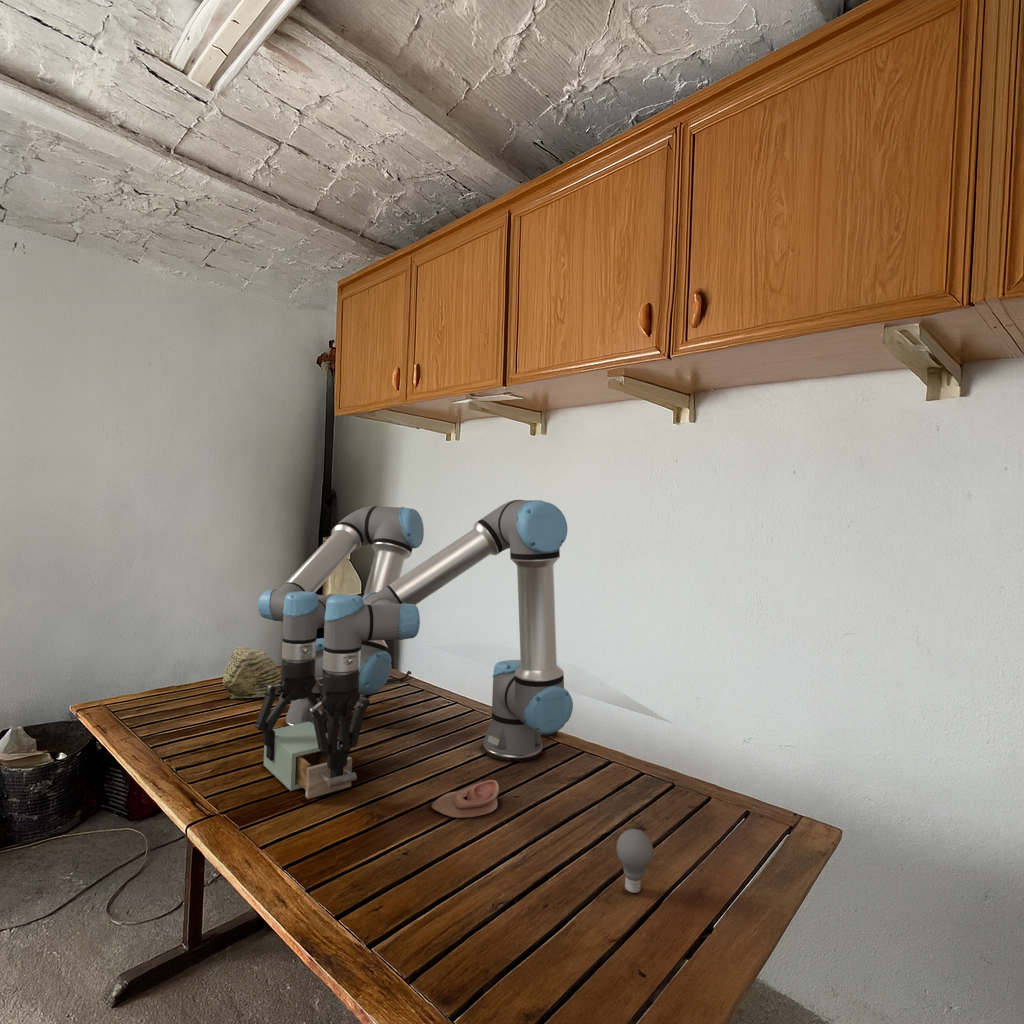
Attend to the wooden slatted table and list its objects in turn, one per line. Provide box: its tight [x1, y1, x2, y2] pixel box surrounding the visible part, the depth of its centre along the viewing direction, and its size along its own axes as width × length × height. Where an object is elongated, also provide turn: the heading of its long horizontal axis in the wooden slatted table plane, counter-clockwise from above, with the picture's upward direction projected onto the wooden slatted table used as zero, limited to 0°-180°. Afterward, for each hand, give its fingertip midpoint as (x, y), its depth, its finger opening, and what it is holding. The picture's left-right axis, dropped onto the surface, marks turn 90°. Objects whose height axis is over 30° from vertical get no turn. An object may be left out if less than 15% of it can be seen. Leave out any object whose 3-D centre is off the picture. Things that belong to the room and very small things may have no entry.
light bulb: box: [615, 828, 654, 894], centre depth 106 cm, size 6×6×10 cm
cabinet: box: [263, 722, 339, 792], centre depth 145 cm, size 16×11×8 cm
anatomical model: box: [431, 779, 500, 819], centre depth 132 cm, size 13×4×12 cm
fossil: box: [222, 646, 282, 699], centre depth 198 cm, size 9×18×15 cm, turn 132°
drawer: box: [295, 751, 358, 800], centre depth 137 cm, size 21×10×6 cm, turn 41°
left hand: (295, 752), depth 148 cm, fingers closed on cabinet, 11 cm apart
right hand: (336, 782), depth 132 cm, fingers closed
